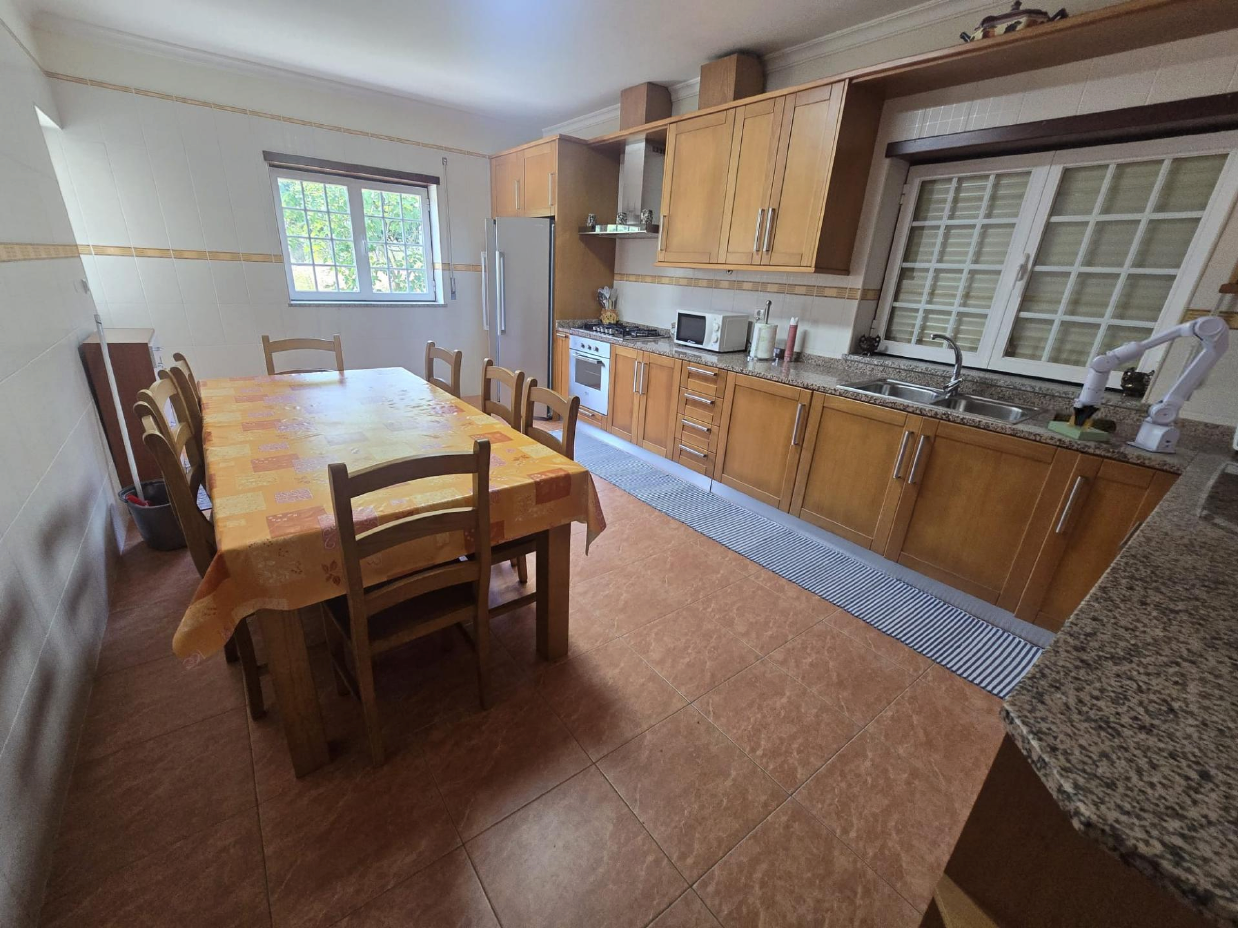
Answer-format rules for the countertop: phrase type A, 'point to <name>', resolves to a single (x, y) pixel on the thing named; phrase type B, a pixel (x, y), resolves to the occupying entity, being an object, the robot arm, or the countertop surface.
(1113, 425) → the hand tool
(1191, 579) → the countertop surface
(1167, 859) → the countertop surface
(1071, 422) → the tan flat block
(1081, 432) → the green flat block
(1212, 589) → the countertop surface
